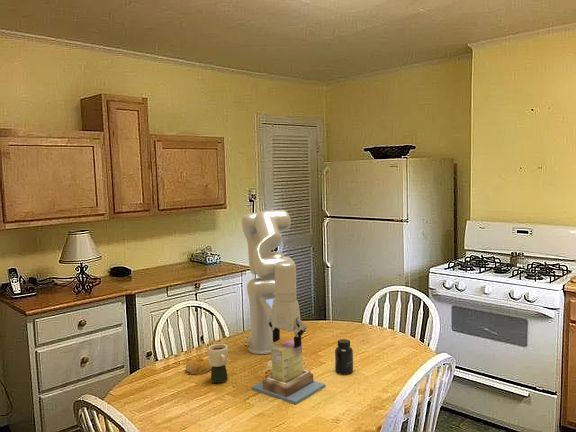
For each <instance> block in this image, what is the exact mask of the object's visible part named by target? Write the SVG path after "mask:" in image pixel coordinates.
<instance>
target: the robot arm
mask: <svg viewBox="0 0 576 432" xmlns="http://www.w3.org/2000/svg"><path fill="white" fill-rule="evenodd" d="M291 223H292V219H291V216H290V213H289V212H288V211H287V210H285V209H275V210H274V209H272V210H271V209H268V210H261V211H259V212H250V213H246V214H244V215H243V216H242V218H241V228H242V231H243V234H244V237H245V239H246V242H247V252H248V267H249V271H250V272H251V274H253V275H256V276H257V277H254V278H252V279H250V280H249V281H248V282H247V286H246V289H247V295H248V302H249V315H250V316H249V319H250V336H247V338H246V339H245V342H246V343H249V345H248V347H247V351H248V352H249V353H250V354H253V355H268V354H271V347H273V346H276V345H277V344H275V343H276V342H278V341H280V340H281V338H280V337H281V336H280V335H281V331H280V330H282V331H285V332H292V333H293V334H294V337H293V340H294V348H297V347H300V346H301V343H302V335H304V333H305V332H306V330H307V328H308V325H307V323H305V322H304V320H301V311H300V305H299V301H298V299H297V298H298V297H297V266H296V263H295V261H294V259H292V258H291V257H290V256H285V255H284V253H283V252H282V251H273V250H275V249H276V248H277V249H278V247H279V246H281V244H282V240H283V239H282V234H281V232H286V231H288V230H290V229H291V225H292V224H291ZM267 300H272V305H270V304H269V303H268V302H267Z"/></svg>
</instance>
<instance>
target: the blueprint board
mask: <svg viewBox="0 0 576 432" xmlns="http://www.w3.org/2000/svg"><path fill="white" fill-rule="evenodd" d="M313 381H314V382H313V383H311V384H309V385H308V386H306V387H304V388H302V389H301V390H299V391H297V392H295V393H294V394H292V395H290V396H288V397H285V396H282V395H279V394H276V393H273V392H270V391H267V390H264V389H263V380H262V381H260V382H259V383H256V384H255V385H252V386H251V390H252V391H254V392H256V393H257V392H258V393H261V394H264V395H267V396H269V397H273V398H276V399H278V400H280V401H284V402H287V403H290V404H293V405H295V406H297V405H298V404H300V403H302V402H303V401H305V400H306V399H308V398H309V397H312V396H313V395H314V394H316V393H317V392H320V391H322V390H323V389H324V388H326V383H324V382H319V381H316V380H313Z"/></svg>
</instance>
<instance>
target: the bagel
mask: <svg viewBox="0 0 576 432" xmlns="http://www.w3.org/2000/svg"><path fill="white" fill-rule="evenodd" d="M185 370H186V372H187V373H189V374H191V375H204V374H206V373H208V372H211V370H212V366H210V365H209V359H206V358H202V357H201V358H200V357H198V358H195V359H190V360H188V362H187V363H186V365H185Z"/></svg>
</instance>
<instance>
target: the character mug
mask: <svg viewBox="0 0 576 432" xmlns="http://www.w3.org/2000/svg"><path fill="white" fill-rule="evenodd" d="M207 351H208V353H207V355H208V360H209V365H210V366H212V369H211V370H210V372H211V373H210V382H212V383H224V382H227V381H228V379H229V378H228V372H227V371H228V370H227V366H226V365H227V364H228V363H229V358H228V356H229V355H228V353H229V351H228V345H227V344H225V343H224V344H223V343H217V344H211V345H210V346H208V348H207Z"/></svg>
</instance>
